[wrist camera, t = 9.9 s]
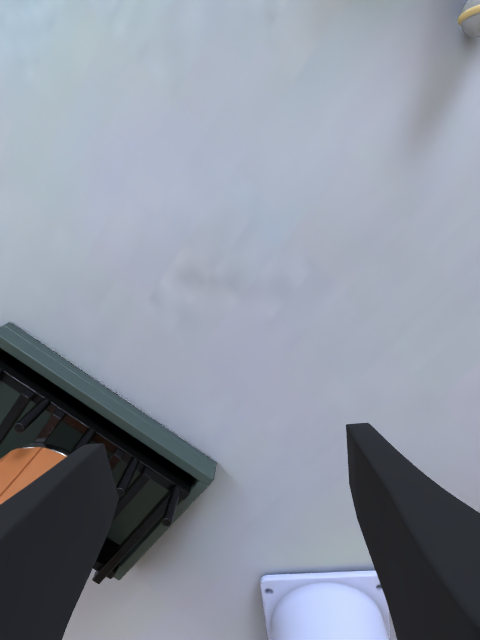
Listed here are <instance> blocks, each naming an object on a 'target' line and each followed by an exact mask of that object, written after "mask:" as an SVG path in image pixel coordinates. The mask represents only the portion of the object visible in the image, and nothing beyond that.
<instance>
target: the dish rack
mask: <svg viewBox="0 0 480 640" xmlns="http://www.w3.org/2000/svg"><path fill="white" fill-rule="evenodd" d="M29 443H46V444H51V445H55V446H58V447H61V448H63V449H66V450H68V451H70V453H69V454H68V455H70V454H71V453H73V452H74V451H76V450H77V449H79V448H80V447H82V446H83V445H87V444H100V443H104V446H105V449H106V453H107V457H108V460H109V464H110V468H111V472H112V475H113V479H114V483H115V486H116V490H117V494H118V498H119V500H118V503H117V507H116V510H115V514H114V517H113V520H112V523H111V526H110V529H109V532H108V535H107V537H106V539H105V542H104V544H103V546H102V548H101V551H100V553H99V555H98V557H97V560H96V562H95V564H94V566H93V569H94V570H96V573H95V575H94V577H93V581H94V582H96V583H98V584H100V583H101V582H102V581H103V579H104V578H105V577H108V578H109V579H112V578H113V577H114V578H116V579H118V580H120V579H121V578H122V577H123V576H124V575H125V574H126V573H127V572H128V571H129V570H130V569H131V568H132V566H133V565H134V564H135V563H136V562H137V561H138V560H139V559H140V558H141V557H142V556H143V555H144V554H145V553H146V552H147V550H148V549H149V548H150V547H151V546H152V545H153V544H154V543H155V542H156V541H157V540H158V539H159V538H160V537H161V536H162V535H163V533H164V532H165V531H166V530H167V529H168V528H169V527H170V526H171V525H172V524H173V523H174V522H175V521H176V520H177V519H178V517H179V516H180V515H181V514H182V513H183V512H184V511H185V510H186V509H187V508H188V507H189V506H190V505H191V504H192V503H193V501H194V500H195V499H196V498H197V497H198V496H199V495H200V494H201V493H202V492H203V491H204V490H205V489H206V488H207V486H209V485H210V484H211V482H212V481H213V480H214V476H215V469H216V464H217V463H216V462H215V461H213V460H212V459H210V458H209V457H207V456H206V455H204V454H203V453H201V452H200V451H198V450H197V449H196V448H194V447H193V446H191V445H190V444H188V443H187V442H185V441H184V440H182V439H181V438H179V437H178V436H176V435H175V434H173V433H172V432H171V431H169V430H168V429H166V428H165V427H163V426H162V425H160V424H159V423H157V422H156V421H154V420H153V419H151V418H150V417H149V416H147V415H146V414H144V413H143V412H141V411H140V410H138V409H137V408H135V407H134V406H132V405H131V404H129V403H128V402H127V401H125V400H124V399H122V398H121V397H119V396H118V395H116V394H115V393H113V392H112V391H110V390H109V389H107V388H106V387H104V386H103V385H102V384H100V383H99V382H97V381H96V380H94V379H93V378H91V377H90V376H88V375H87V374H85V373H84V372H82V371H81V370H80V369H78V368H77V367H75V366H74V365H72V364H71V363H69V362H68V361H66V360H65V359H63V358H62V357H60V356H59V355H58V354H56V353H55V352H53V351H52V350H50V349H49V348H47V347H46V346H44V345H43V344H41V343H40V342H38V341H37V340H35V339H34V338H33V337H31V336H30V335H28V334H27V333H25V332H24V331H22V330H21V329H19V328H18V327H16V326H15V325H13V324H12V323H10V322H9V323H7V324H5V325H3V326H1V327H0V459H1V458H2V457H3V456H4V455H5V454H6V453H7V452H8V451H10V450H12V449H13V448H15V447H18V446H20V445H24V444H29Z"/></svg>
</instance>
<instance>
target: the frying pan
mask: <svg viewBox="0 0 480 640" xmlns="http://www.w3.org/2000/svg"><path fill="white" fill-rule="evenodd" d="M458 24H459V25H461V26H462V29H463V31H464V32H465V33H466V34H467V35H469V36H471V37H480V0H468V1H467V2H466V4H465V6H464V8H463V10H462V13H461V15H460V16H459V18H458Z"/></svg>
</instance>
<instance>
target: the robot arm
mask: <svg viewBox="0 0 480 640" xmlns="http://www.w3.org/2000/svg"><path fill="white" fill-rule="evenodd" d="M346 432H347V449H348V467H349V484H350V489H351V493H352V498H353V502H354V506H355V511H356V515H357V519H358V522H359V525H360V528H361V530H362V533H363V536H364V539H365V542H366V545H367V548H368V550H369V553H370V556H371V559H372V562H373V564H374V567H375V570H372V571H348V572H325V573H301V574H278V575H264V576H263V577H261V579H260V588H261V595H262V601H263V608H264V614H265V621H266V628H267V634H268V640H390V637H389V611H390V614H391V617H392V621H393V625H394V629H395V632H396V636H397V640H480V513H479V512H477V511H476V510H474V509H473V508H471V507H469V506H468V505H466V504H465V503H463V502H462V501H460V500H459V499H457V498H456V497H454V496H453V495H451V494H450V493H449V492H447V491H446V490H444V489H443V488H442V487H440V486H439V485H438V484H436V483H435V482H434V481H433V480H431V479H430V478H429V477H427V476H426V475H425V474H424V473H423V472H421V471H420V470H419V469H418V468H417V467H415V466H414V465H413V464H412V463H411V462H410V461H409V460H407V459H406V458H405V457H404V456H403V455H402V454H401V453H399V452H398V451H397V450H396V449H395V448H394V447H393V446H392V445H391V444H390V443H389V442H388V441H387V440H386V439H385V438H384V437H383V436H381V435H380V434H379V433H378V432H377V431H376V430H375V429H374V428H373V427H372V426H371V425H370V424H369V423H360V424H347V425H346ZM118 500H119V498H118V494H117V490H116V486H115V483H114V479H113V475H112V472H111V468H110V464H109V460H108V457H107V453H106V449H105V446H104V443H100V444H87V445H83V446H82V447H80V448H79V449H77V450H76V451H74V452H73V453H71V454H70V455H68V456H67V457H66V458H64V459H63V460H61V461H60V462H59V463H57V464H56V465H55V466H53V467H52V468H51V469H49V470H48V471H46V472H45V473H44V474H42V475H41V476H40V477H38V478H37V479H36V480H34V481H33V482H32V483H30V484H29V485H27V486H26V487H25V488H23V489H22V490H20V491H19V492H18V493H16V494H15V495H13V496H12V497H10V498H9V499H7V500H6V501H5V502H3V503H2V504H0V640H62V638H63V635H64V632H65V629H66V627H67V624H68V622H69V620H70V617H71V615H72V612H73V610H74V608H75V606H76V603H77V601H78V599H79V597H80V595H81V592H82V590H83V588H84V586H85V584H86V581H87V579H88V577H89V575H90V573H91V571H92V568H93V566H94V564H95V562H96V560H97V557H98V555H99V553H100V551H101V548H102V546H103V544H104V542H105V539H106V537H107V535H108V532H109V529H110V526H111V523H112V520H113V517H114V514H115V510H116V507H117V503H118ZM379 584H380V585H379Z"/></svg>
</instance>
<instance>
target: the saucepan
mask: <svg viewBox="0 0 480 640" xmlns="http://www.w3.org/2000/svg"><path fill="white" fill-rule="evenodd" d="M69 453H70V451H68V450H66V449H63V448H61V447H58V446H55V445H51V444H46V443H29V444H24V445H20V446H18V447H15V448H13V449H12V450H10V451H8V452H7V453H6V454H5V455H4V456H3V457H2V458H1V459H0V504H2V503H3V502H5V501H6V500H7V499H9V498H10V497H12V496H13V495H15V494H16V493H18V492H19V491H20V490H22V489H23V488H25V487H26V486H27V485H29V484H30V483H32V482H33V481H34V480H36V479H37V478H38V477H40V476H41V475H42V474H44V473H45V472H46V471H48V470H49V469H51V468H52V467H53V466H55V465H56V464H57V463H59V462H60V461H61V460H63V459H64V458H66V457H67V456H68V454H69Z"/></svg>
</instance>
